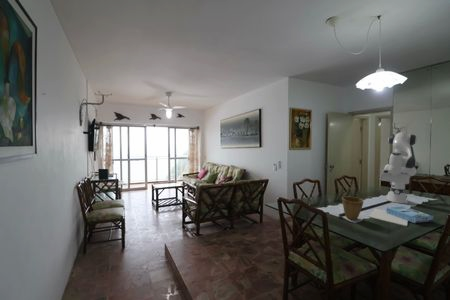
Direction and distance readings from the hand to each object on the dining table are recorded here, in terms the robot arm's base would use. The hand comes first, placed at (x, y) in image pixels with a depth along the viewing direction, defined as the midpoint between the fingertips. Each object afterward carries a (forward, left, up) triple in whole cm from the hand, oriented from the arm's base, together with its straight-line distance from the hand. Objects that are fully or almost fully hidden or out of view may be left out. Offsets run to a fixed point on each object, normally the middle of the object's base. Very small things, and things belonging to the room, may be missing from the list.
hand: (393, 187), depth 184 cm
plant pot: (+39, -22, -24) cm, 51 cm away
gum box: (-6, +2, -21) cm, 22 cm away
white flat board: (+10, 0, -24) cm, 26 cm away
